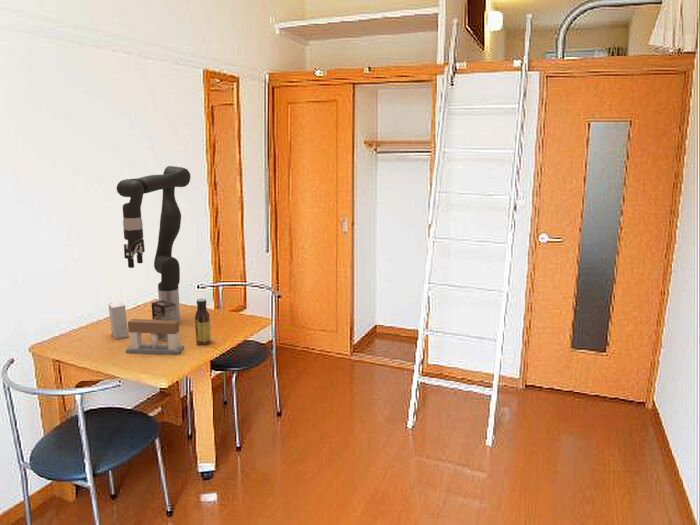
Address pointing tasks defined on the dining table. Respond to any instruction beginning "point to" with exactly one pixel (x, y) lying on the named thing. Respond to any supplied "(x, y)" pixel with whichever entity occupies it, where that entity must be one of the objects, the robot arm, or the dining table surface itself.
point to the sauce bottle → (202, 323)
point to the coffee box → (163, 314)
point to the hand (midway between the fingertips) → (135, 265)
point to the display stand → (154, 345)
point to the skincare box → (118, 320)
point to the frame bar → (153, 326)
